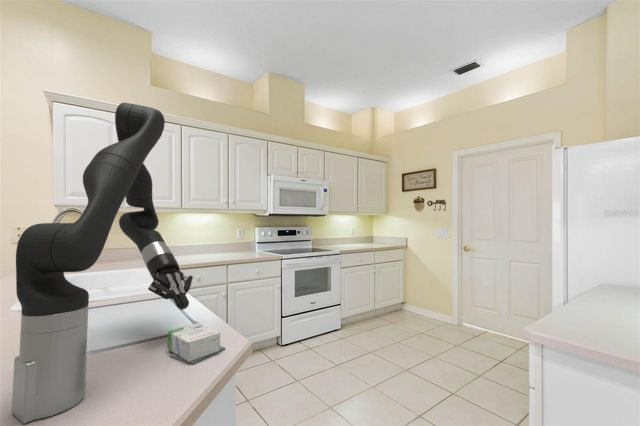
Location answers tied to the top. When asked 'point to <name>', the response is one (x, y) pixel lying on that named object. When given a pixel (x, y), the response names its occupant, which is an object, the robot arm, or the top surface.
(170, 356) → the mat
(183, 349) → the ink box
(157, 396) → the top surface
